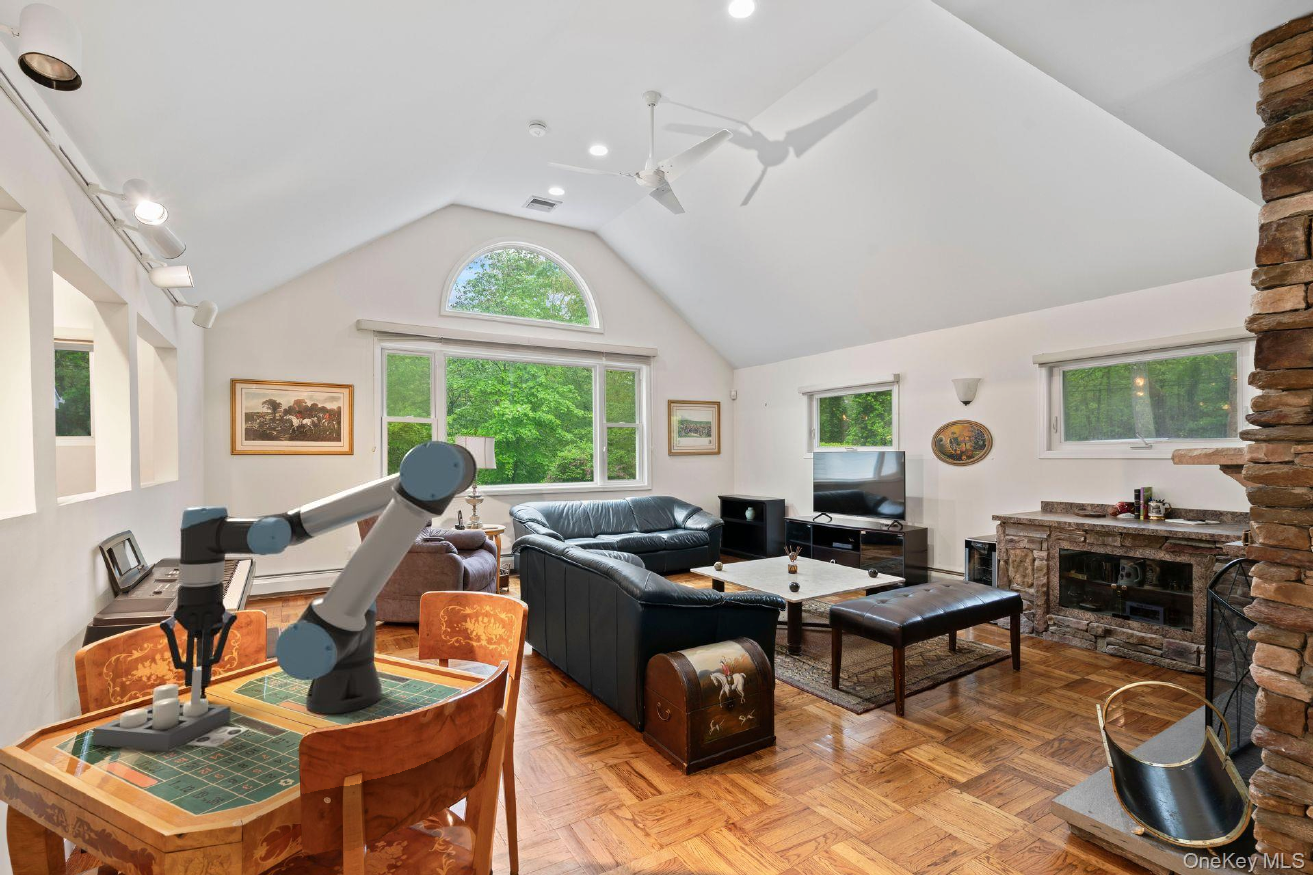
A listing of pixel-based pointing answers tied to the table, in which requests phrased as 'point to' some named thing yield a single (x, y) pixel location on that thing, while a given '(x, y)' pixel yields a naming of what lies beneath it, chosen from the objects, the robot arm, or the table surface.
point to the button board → (161, 739)
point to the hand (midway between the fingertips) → (195, 701)
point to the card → (218, 736)
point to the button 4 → (195, 708)
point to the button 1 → (133, 718)
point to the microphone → (199, 636)
